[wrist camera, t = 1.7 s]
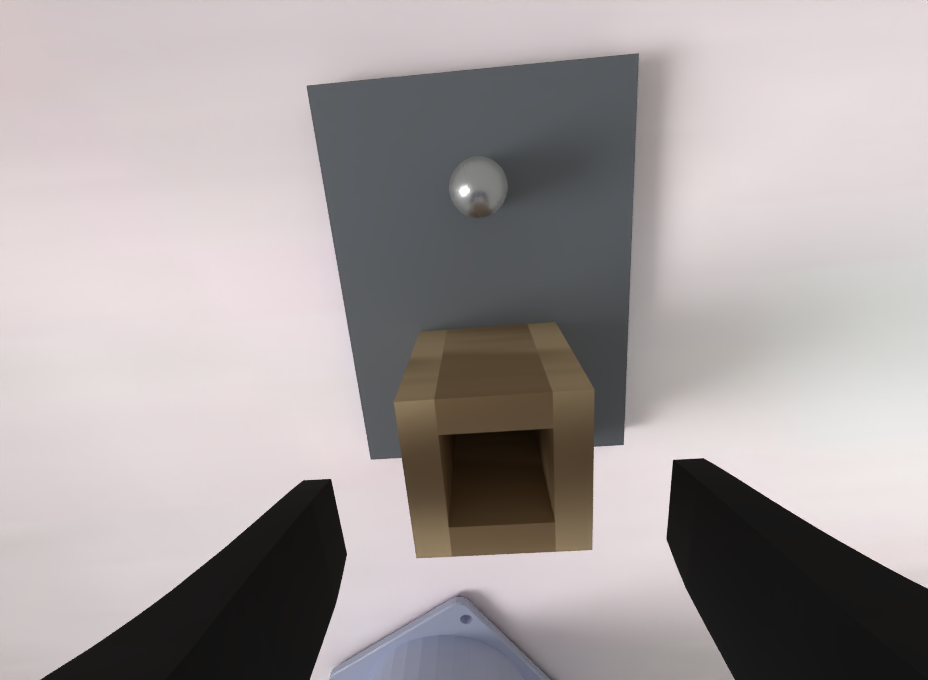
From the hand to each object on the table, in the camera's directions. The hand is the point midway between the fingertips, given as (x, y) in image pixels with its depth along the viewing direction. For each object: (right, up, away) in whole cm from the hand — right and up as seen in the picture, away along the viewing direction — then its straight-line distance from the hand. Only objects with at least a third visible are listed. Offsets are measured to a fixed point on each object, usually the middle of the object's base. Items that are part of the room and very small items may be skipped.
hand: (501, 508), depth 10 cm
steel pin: (0, +8, +5) cm, 10 cm away
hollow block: (0, +2, +6) cm, 6 cm away
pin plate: (0, +6, +6) cm, 8 cm away
